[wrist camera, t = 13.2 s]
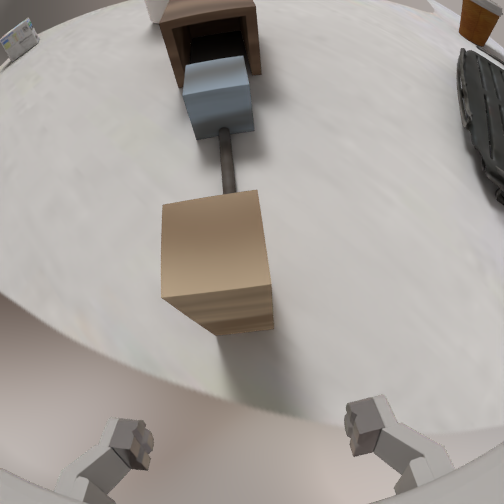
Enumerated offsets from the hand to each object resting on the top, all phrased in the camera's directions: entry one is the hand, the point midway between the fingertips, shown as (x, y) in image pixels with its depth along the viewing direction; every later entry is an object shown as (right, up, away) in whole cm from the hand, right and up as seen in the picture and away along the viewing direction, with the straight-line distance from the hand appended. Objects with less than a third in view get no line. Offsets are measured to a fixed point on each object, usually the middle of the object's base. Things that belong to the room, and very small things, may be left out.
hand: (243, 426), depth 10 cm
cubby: (-4, +31, +20) cm, 38 cm away
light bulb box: (-71, +70, +43) cm, 109 cm away
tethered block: (-1, +12, +12) cm, 16 cm away
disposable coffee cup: (+47, +52, +25) cm, 74 cm away
